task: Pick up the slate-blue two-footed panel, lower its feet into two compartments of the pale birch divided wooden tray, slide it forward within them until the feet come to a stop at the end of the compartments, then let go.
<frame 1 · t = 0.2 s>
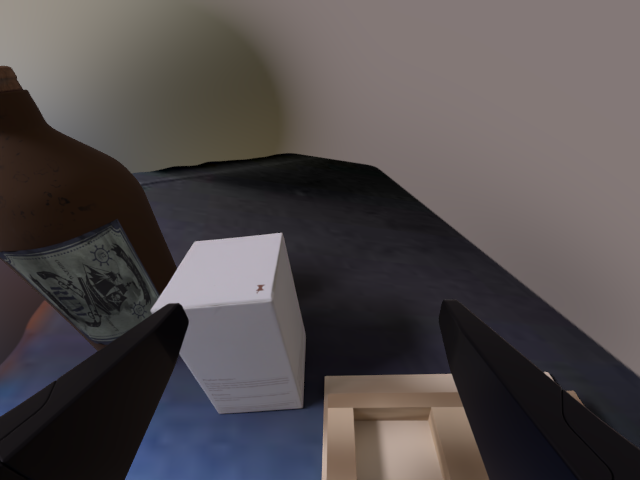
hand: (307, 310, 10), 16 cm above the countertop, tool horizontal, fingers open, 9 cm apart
olive oil: (153, 331, 31), on the countertop
supplement box: (266, 371, 26), on the countertop
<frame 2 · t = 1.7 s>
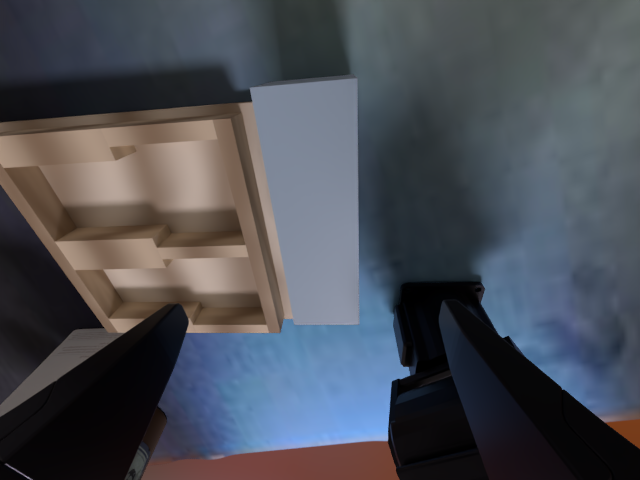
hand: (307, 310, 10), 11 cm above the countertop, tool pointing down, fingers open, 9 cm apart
panel: (324, 185, 19), on the countertop
divided wooden tray: (165, 235, 22), on the countertop
olive oil: (135, 411, 39), on the countertop
supplement box: (123, 347, 31), on the countertop
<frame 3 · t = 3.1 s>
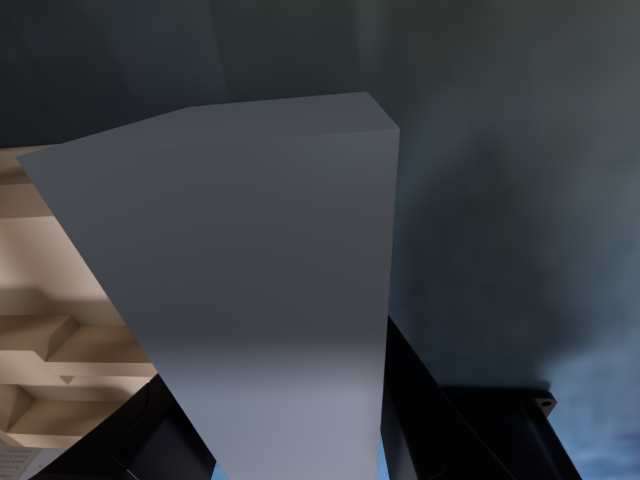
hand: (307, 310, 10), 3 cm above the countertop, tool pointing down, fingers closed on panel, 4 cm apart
panel: (313, 264, 12), on the countertop, touching gripper
divided wooden tray: (77, 323, 15), on the countertop
supplement box: (55, 437, 24), on the countertop
when the fingers open (3 cm above the countertop, at t = 9.6 s): panel stays where it is, resting on divided wooden tray.
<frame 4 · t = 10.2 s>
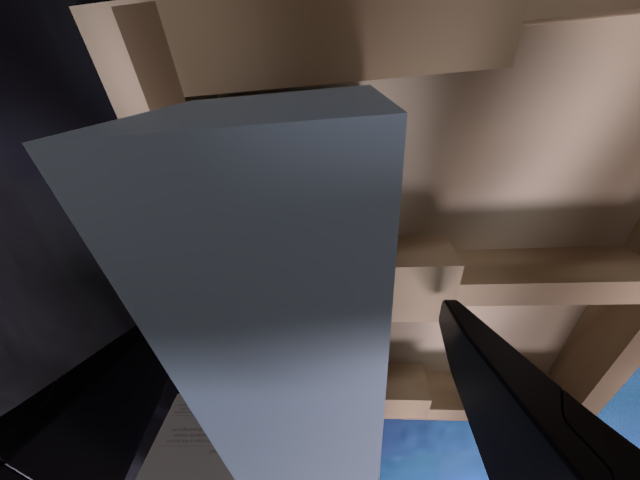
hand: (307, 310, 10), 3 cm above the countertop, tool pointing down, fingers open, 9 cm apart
panel: (314, 261, 12), point 1 cm above the countertop, touching divided wooden tray
divided wooden tray: (411, 253, 12), on the countertop
supplement box: (242, 414, 21), on the countertop
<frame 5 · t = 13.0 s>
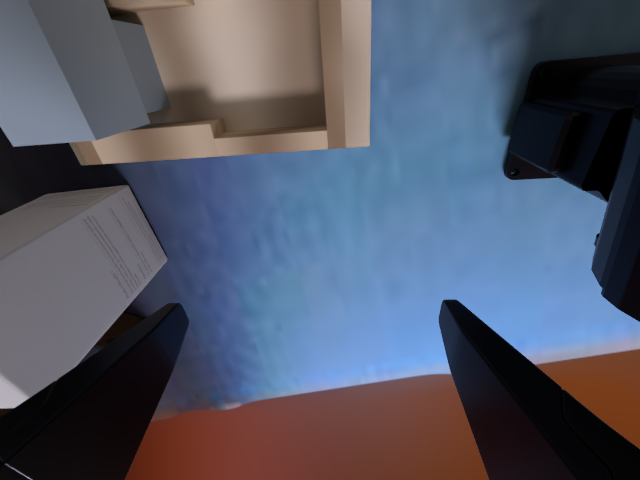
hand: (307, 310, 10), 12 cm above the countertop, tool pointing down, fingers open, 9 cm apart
olive oil: (132, 337, 31), on the countertop
supplement box: (113, 227, 23), on the countertop
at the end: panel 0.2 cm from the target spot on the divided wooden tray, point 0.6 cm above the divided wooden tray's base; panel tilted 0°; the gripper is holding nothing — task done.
